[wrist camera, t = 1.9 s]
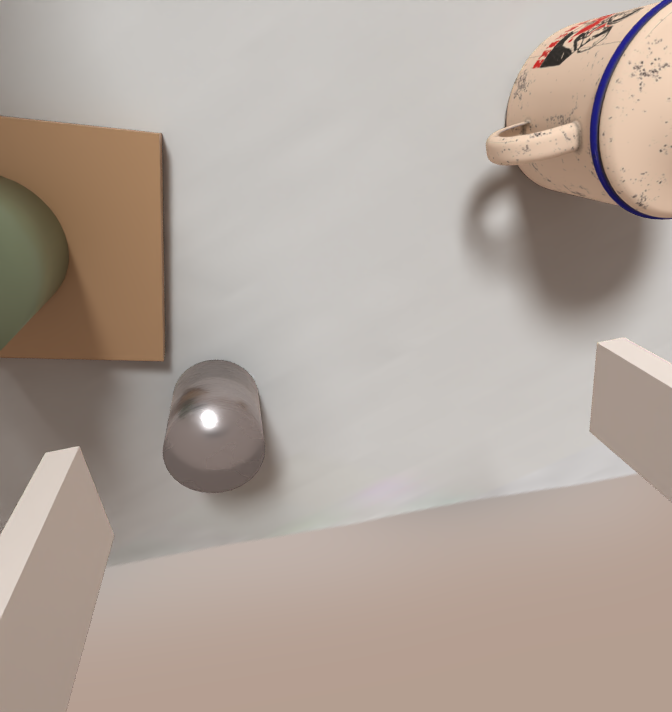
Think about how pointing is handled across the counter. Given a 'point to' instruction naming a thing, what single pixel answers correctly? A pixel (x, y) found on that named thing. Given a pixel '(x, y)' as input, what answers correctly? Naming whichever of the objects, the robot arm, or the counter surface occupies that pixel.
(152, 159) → the brown board with cylinder
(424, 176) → the counter surface
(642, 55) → the teacup with lid
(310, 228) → the counter surface
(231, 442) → the cap
